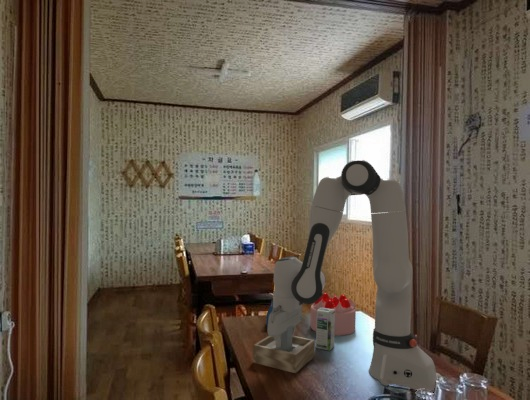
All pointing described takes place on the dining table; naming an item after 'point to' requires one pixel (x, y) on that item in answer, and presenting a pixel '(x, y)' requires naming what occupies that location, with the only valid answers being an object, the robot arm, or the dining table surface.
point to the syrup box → (325, 328)
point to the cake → (336, 313)
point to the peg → (286, 340)
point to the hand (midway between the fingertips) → (284, 342)
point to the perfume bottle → (269, 312)
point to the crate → (284, 354)
